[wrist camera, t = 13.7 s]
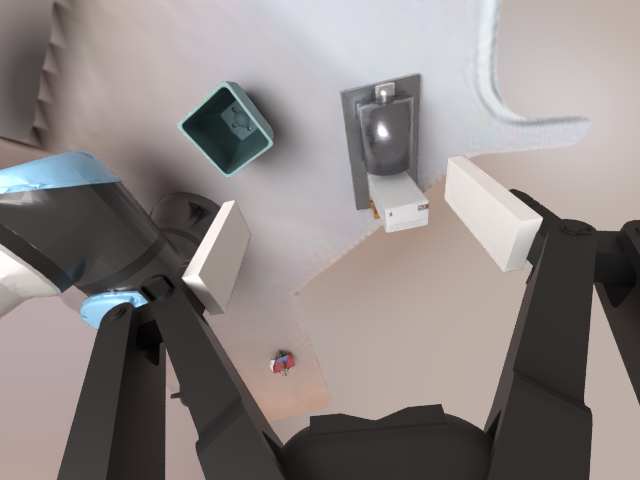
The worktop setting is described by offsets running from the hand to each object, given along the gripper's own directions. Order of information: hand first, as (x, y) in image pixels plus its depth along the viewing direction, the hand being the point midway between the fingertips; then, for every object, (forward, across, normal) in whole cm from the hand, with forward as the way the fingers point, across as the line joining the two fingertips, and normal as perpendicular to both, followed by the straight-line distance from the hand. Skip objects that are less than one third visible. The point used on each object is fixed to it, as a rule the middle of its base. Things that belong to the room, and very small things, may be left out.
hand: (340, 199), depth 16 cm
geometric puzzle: (+29, -27, -68) cm, 79 cm away
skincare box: (+27, +8, -13) cm, 31 cm away
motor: (+29, +8, -8) cm, 31 cm away
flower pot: (+29, -13, +1) cm, 32 cm away
